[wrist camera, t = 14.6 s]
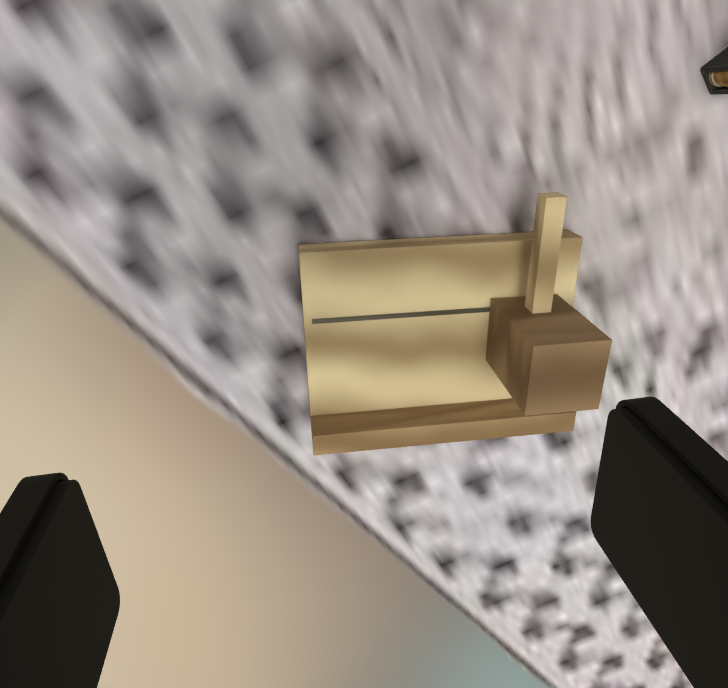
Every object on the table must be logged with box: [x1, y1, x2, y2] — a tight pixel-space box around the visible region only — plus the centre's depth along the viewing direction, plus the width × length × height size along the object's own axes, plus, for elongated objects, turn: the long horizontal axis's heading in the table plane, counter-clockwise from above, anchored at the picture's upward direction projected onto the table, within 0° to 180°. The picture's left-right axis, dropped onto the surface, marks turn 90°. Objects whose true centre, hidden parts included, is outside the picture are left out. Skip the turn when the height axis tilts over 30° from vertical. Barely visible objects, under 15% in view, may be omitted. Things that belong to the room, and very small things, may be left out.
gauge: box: [486, 193, 612, 416], centre depth 33 cm, size 12×4×7 cm, turn 2°
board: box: [298, 230, 583, 455], centre depth 38 cm, size 13×18×4 cm
